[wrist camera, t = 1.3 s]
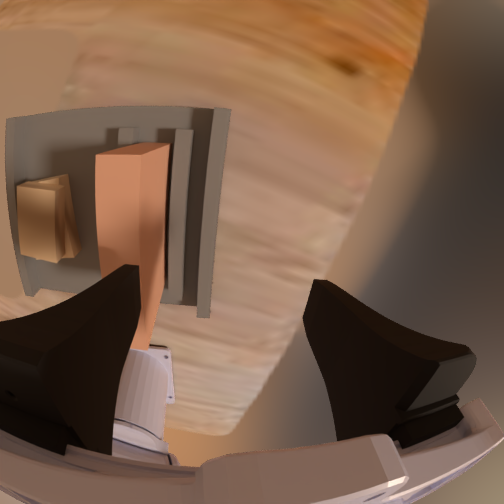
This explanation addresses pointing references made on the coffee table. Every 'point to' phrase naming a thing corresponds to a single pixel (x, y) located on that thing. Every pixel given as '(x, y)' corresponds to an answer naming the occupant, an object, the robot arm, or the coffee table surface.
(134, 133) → the rack
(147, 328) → the panel
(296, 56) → the coffee table surface
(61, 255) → the offcut top
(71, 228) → the block
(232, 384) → the coffee table surface
